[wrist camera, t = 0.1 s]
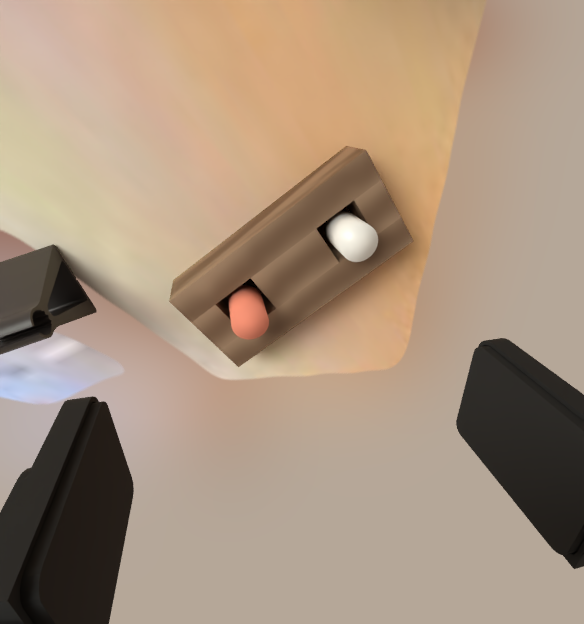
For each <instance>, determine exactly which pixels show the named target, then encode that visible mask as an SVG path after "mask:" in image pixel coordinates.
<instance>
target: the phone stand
mask: <svg viewBox="0 0 584 624" xmlns="http://www.w3.org/2000/svg"><path fill="white" fill-rule="evenodd" d="M95 312H96V308H95V307H94V305H93V303H92V302H91V300H90V299H89V297H88V296H87V294H86V293H85V291H84V289H83V288H82V286H81V285H80V283H79V282H78V280H76V277H75V276H74V274H73V272H72V271H71V269H70V268H69V266H68V265H67V263H66V262H65V260H64V259H63V257H62V255H61V254H60V252H59V251H58V249H57V248H56V246H55V245H51V246H48V247H45V248H42V249H39V250H36V251H33V252H30V253H27V254H24V255H21V256H18V257H15V258H12V259H9V260H6V261H3V262H0V354H3V353H6V352H9V351H12V350H15V349H18V348H21V347H24V346H26V345H29V344H32V343H35V342H38V341H41V340H44V339H47V338H49V337H51V336H52V334H53V332H54V330H55V329H56V327H58V326H59V325H62V324H65V323H68V322H71V321H73V320H76V319H79V318H82V317H84V316H87V315H90V314H93V313H95Z"/></svg>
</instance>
